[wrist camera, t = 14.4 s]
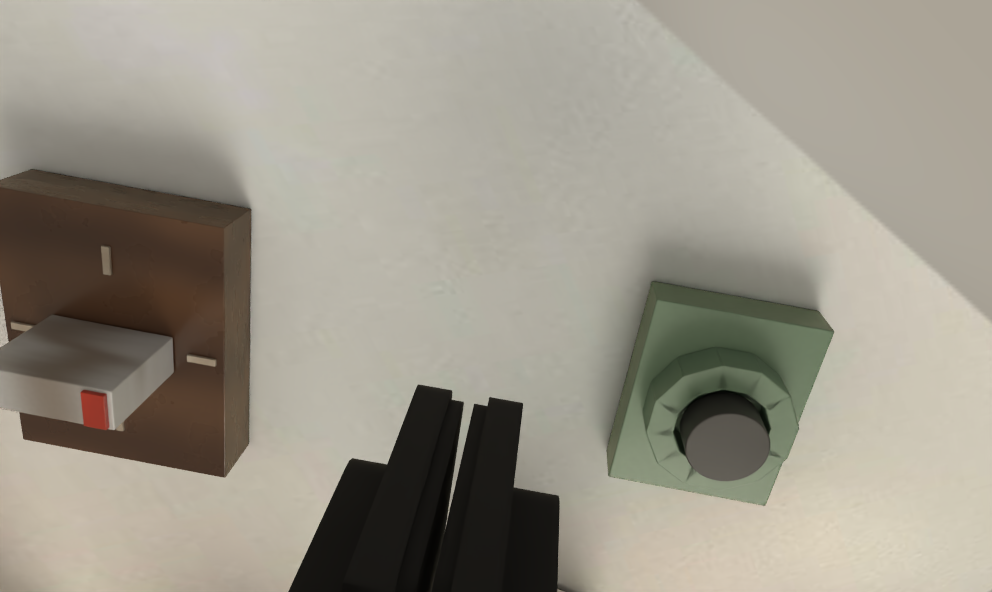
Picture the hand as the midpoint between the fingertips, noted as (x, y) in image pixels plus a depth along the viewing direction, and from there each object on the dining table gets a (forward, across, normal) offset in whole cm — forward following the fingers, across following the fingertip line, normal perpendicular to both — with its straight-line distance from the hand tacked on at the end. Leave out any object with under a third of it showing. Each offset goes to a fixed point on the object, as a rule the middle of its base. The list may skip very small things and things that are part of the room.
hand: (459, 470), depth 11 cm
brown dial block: (+22, +18, +12) cm, 32 cm away
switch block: (+22, -10, +10) cm, 27 cm away
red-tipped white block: (+19, +19, +12) cm, 29 cm away
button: (+19, -10, +10) cm, 24 cm away
